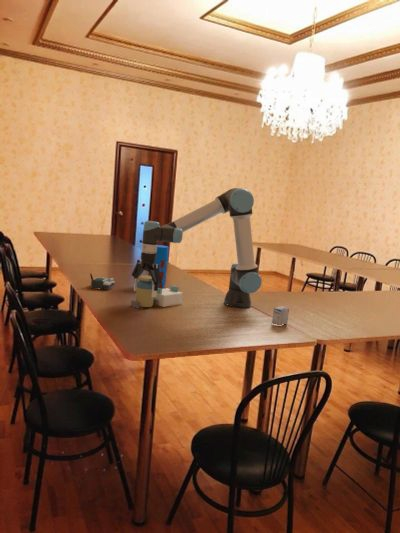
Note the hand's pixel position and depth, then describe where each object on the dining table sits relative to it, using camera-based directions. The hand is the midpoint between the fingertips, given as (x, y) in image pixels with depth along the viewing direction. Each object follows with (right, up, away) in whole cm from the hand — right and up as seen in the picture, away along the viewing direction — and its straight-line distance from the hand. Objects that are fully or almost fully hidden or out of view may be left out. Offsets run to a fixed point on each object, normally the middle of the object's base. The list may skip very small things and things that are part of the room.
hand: (144, 293), depth 232 cm
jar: (-1, -6, +1) cm, 7 cm away
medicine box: (+67, -15, -8) cm, 69 cm away
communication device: (-28, +2, +37) cm, 47 cm away
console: (+5, -6, +7) cm, 10 cm away
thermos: (+1, +1, +50) cm, 50 cm away
